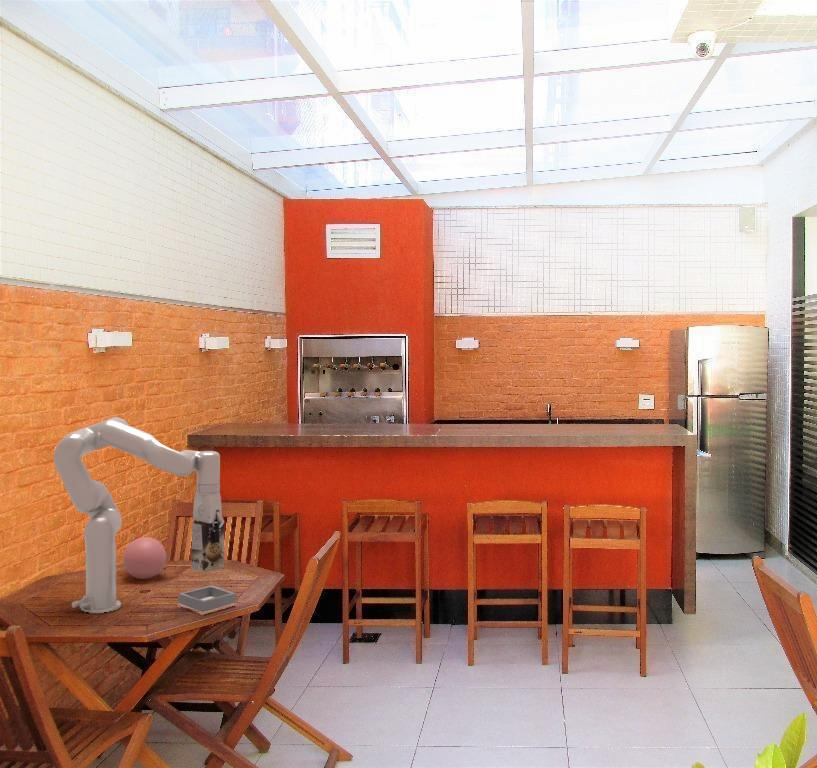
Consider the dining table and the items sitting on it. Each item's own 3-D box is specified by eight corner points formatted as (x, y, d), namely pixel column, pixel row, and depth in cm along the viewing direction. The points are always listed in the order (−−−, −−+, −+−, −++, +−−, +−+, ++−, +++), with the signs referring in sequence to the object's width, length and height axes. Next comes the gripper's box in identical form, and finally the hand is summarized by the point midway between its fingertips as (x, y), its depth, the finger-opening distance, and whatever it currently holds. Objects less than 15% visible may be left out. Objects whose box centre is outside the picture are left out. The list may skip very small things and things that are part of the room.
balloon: (153, 567, 335) (153, 528, 334) (172, 580, 319) (172, 539, 318) (113, 573, 326) (113, 533, 325) (131, 586, 310) (131, 544, 309)
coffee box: (203, 573, 283) (203, 525, 282) (190, 569, 287) (191, 522, 286) (224, 567, 290) (225, 520, 289) (212, 564, 294) (212, 517, 293)
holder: (203, 615, 280) (203, 602, 280) (178, 606, 288) (178, 593, 288) (235, 606, 290) (235, 593, 290) (211, 597, 299) (211, 585, 298)
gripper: (183, 486, 290) (183, 538, 291) (215, 493, 279) (215, 547, 280) (201, 483, 295) (201, 534, 296) (233, 490, 284) (233, 543, 285)
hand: (208, 540), depth 288 cm, fingers closed on coffee box, 6 cm apart
